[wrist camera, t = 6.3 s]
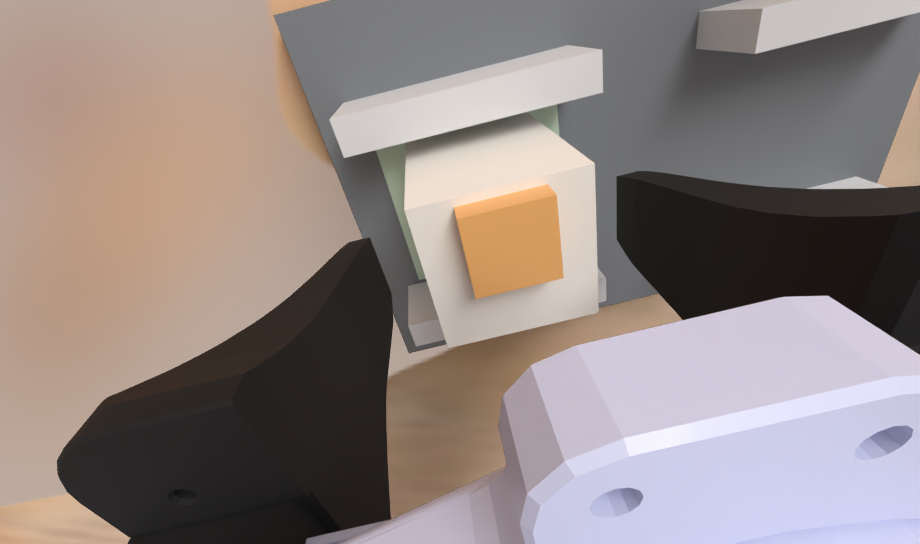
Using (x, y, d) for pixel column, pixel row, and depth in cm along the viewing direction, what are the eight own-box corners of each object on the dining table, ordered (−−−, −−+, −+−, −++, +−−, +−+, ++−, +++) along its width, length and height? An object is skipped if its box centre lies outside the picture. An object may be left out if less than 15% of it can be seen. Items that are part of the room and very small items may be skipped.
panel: (832, 236, 18) (914, 277, 15) (408, 338, 19) (408, 397, 16) (969, -165, 11) (1173, -234, 8) (283, 15, 12) (240, 13, 9)
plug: (539, 222, 15) (608, 327, 10) (436, 247, 15) (449, 365, 10) (526, 112, 13) (607, 172, 8) (406, 142, 13) (403, 222, 8)
